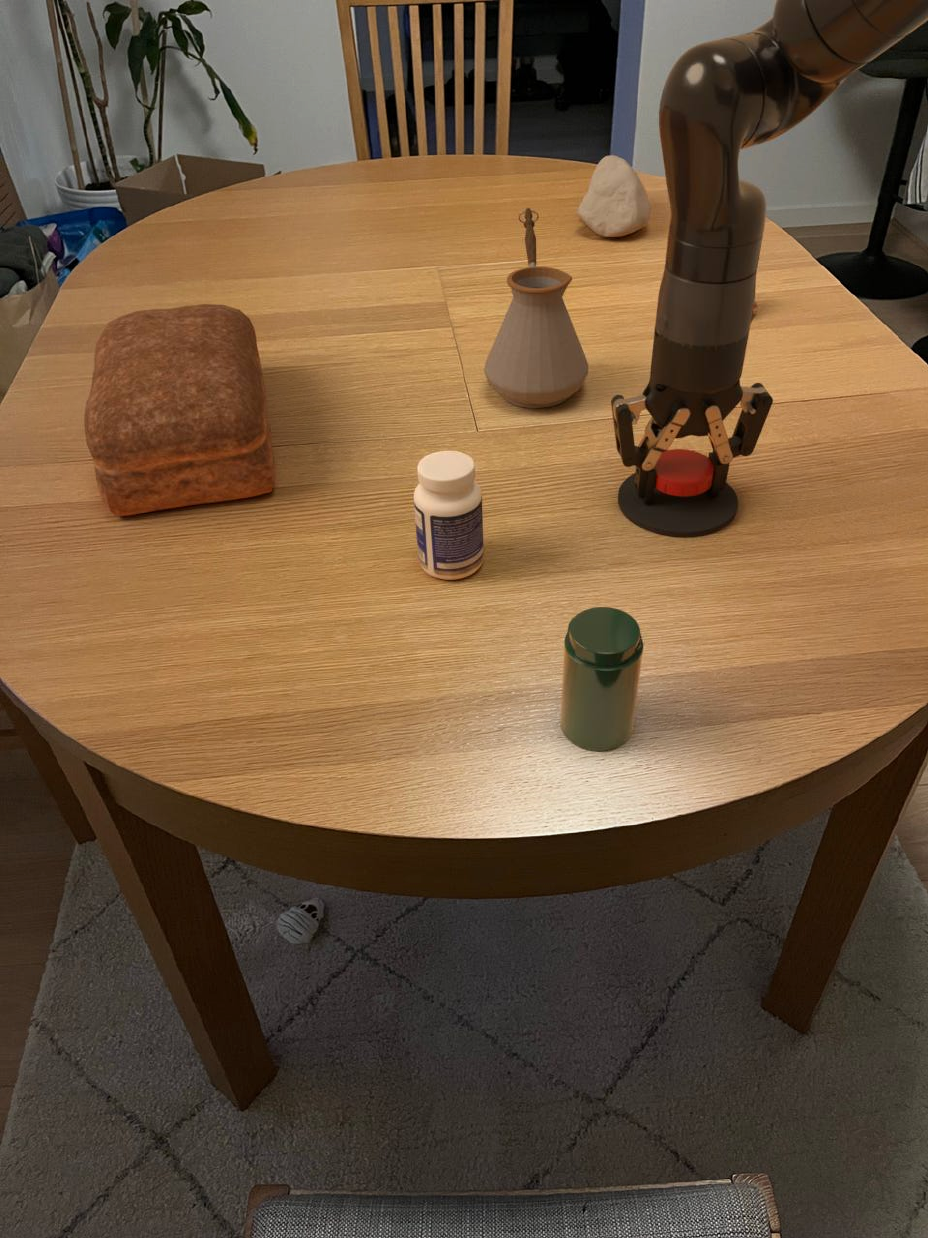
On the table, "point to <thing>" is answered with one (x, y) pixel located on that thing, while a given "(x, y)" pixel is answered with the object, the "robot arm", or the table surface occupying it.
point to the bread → (178, 410)
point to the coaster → (678, 511)
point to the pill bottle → (448, 516)
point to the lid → (683, 473)
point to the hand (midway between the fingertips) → (678, 494)
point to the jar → (600, 678)
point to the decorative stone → (615, 199)
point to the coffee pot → (536, 337)
